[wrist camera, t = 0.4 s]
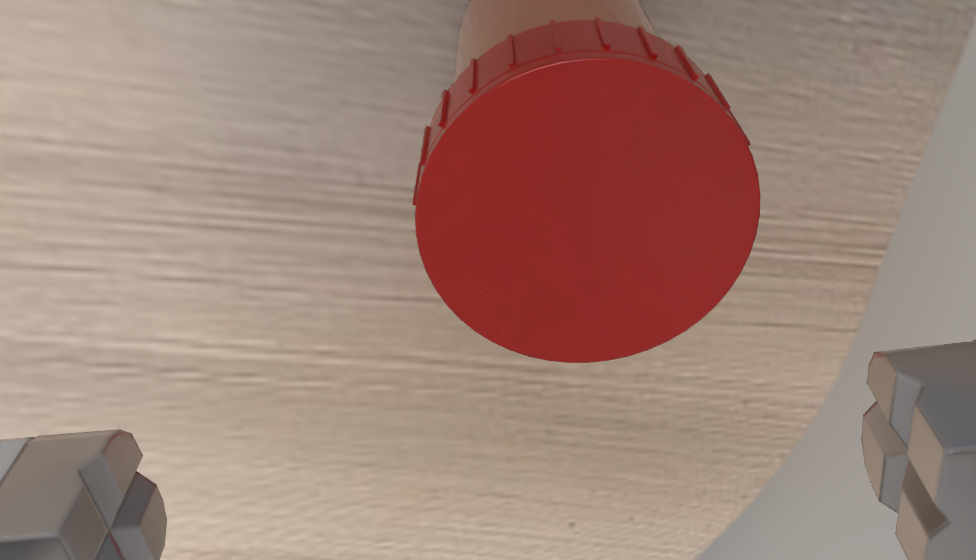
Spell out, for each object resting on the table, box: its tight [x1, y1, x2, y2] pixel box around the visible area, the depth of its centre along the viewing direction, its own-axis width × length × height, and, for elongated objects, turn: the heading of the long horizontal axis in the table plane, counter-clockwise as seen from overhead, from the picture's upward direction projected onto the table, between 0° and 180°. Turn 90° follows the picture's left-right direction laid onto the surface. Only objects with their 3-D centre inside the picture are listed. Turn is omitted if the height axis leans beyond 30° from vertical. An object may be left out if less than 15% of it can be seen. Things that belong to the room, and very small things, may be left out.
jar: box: [454, 0, 657, 82], centre depth 23 cm, size 6×6×11 cm
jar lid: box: [413, 17, 760, 363], centre depth 19 cm, size 7×7×2 cm
